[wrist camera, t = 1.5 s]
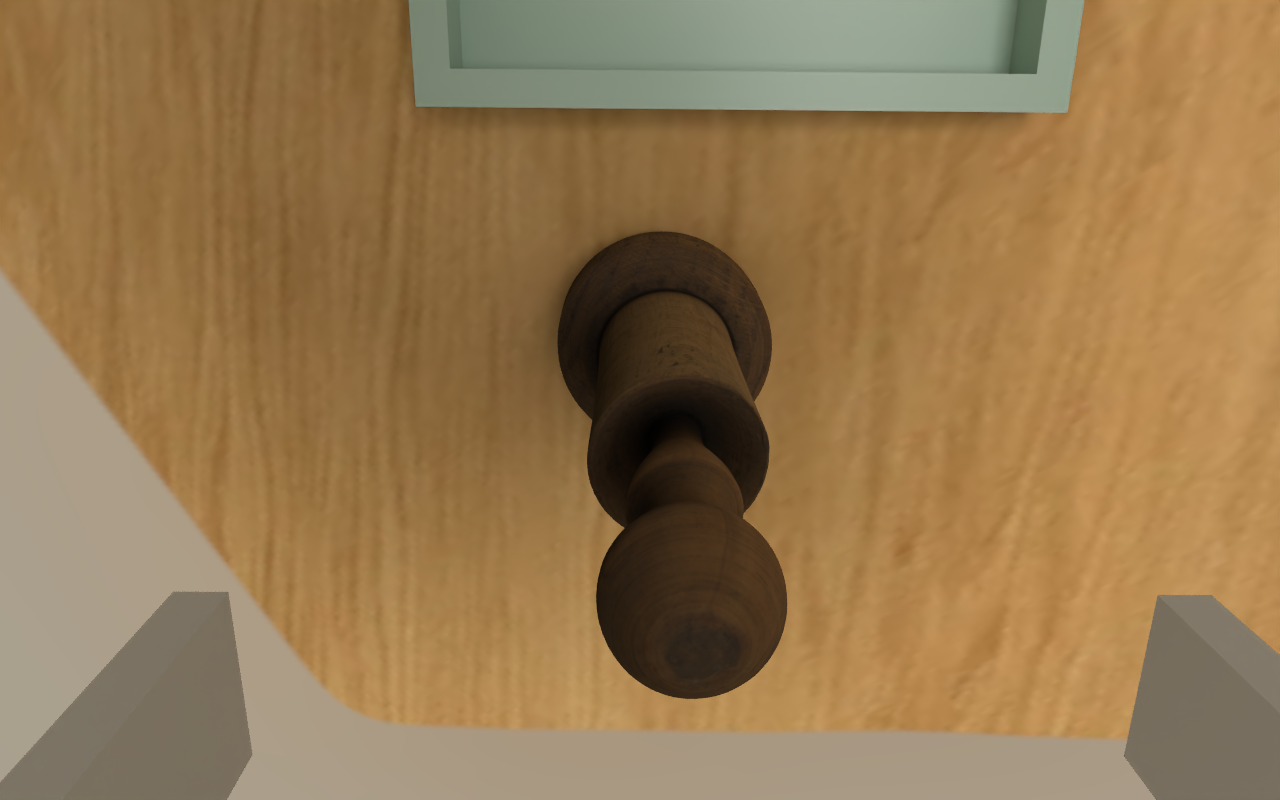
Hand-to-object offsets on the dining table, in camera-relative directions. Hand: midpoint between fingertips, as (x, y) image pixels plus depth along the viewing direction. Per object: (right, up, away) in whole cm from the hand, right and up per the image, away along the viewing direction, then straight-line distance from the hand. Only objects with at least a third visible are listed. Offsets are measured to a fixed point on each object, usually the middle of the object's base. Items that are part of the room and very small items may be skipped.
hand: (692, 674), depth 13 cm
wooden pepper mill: (0, +6, +17) cm, 18 cm away
